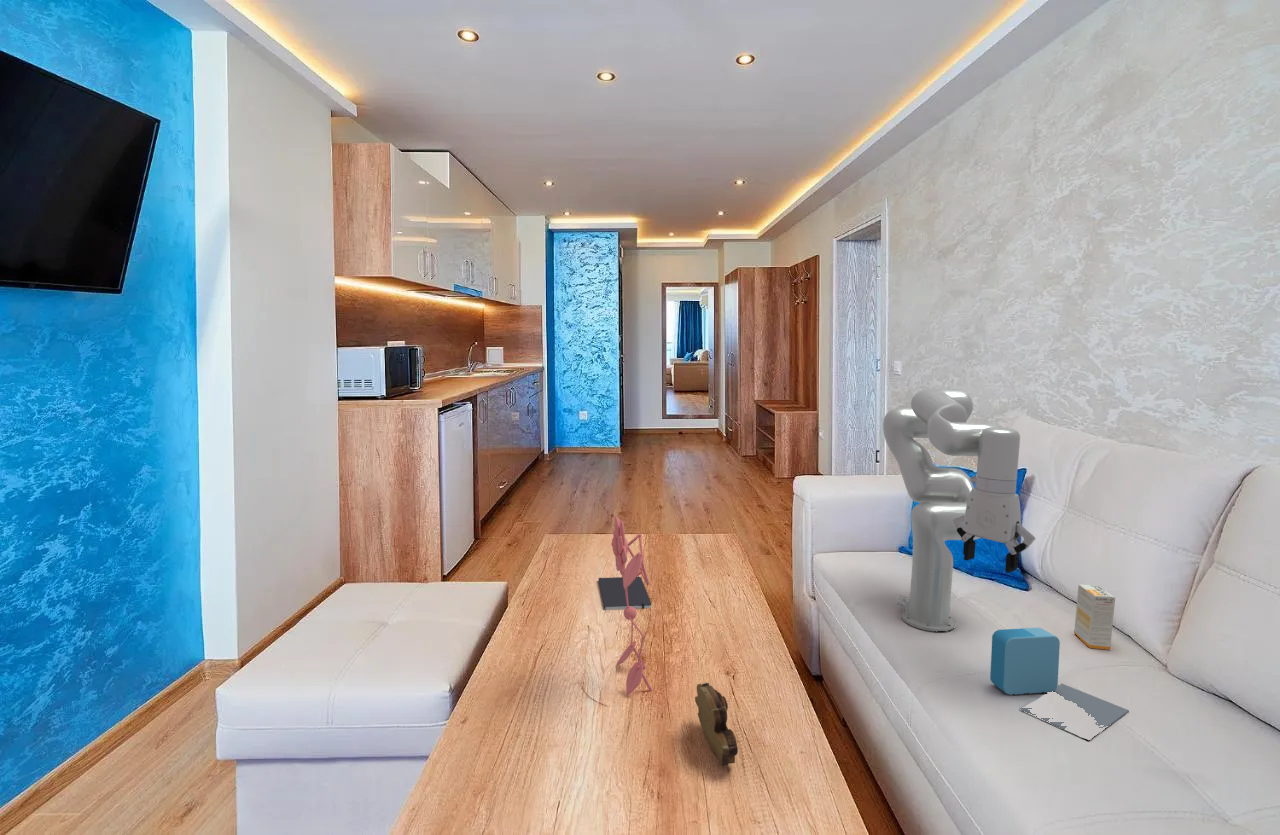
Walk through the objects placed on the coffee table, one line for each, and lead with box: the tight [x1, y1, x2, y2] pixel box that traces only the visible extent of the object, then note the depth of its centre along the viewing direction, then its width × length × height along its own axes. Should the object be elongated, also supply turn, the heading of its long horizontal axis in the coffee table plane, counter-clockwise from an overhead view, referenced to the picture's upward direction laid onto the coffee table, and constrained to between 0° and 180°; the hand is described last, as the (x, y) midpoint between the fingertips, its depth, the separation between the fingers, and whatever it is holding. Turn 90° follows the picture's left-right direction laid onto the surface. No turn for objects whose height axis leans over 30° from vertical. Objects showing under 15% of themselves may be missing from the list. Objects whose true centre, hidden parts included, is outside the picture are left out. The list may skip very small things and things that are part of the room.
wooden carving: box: [694, 682, 739, 767], centre depth 112 cm, size 16×5×10 cm, turn 17°
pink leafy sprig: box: [581, 515, 653, 707], centre depth 132 cm, size 15×26×35 cm, turn 8°
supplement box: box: [1073, 583, 1116, 651], centre depth 156 cm, size 8×5×13 cm, turn 168°
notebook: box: [597, 576, 652, 611], centre depth 181 cm, size 13×2×21 cm
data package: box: [990, 627, 1061, 696], centre depth 133 cm, size 12×4×12 cm, turn 97°
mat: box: [1019, 683, 1130, 730], centre depth 126 cm, size 12×18×1 cm, turn 124°
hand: (989, 564), depth 139 cm, fingers open, 8 cm apart
